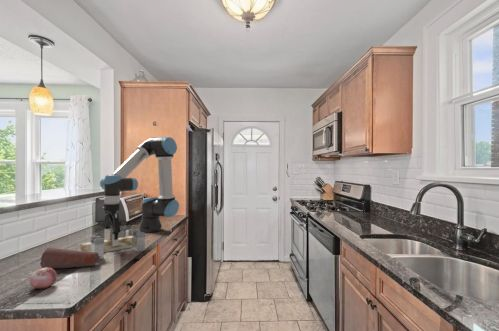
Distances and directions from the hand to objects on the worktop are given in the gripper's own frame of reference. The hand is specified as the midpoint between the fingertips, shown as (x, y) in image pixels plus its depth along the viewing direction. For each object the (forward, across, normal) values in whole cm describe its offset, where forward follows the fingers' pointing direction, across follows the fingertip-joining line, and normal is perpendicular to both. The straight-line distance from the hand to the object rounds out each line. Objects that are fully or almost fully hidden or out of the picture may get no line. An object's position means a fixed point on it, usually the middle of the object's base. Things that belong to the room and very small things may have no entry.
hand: (111, 243), depth 150 cm
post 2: (+3, +12, +10) cm, 16 cm away
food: (+3, +19, -22) cm, 30 cm away
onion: (+3, +36, -34) cm, 49 cm away
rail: (+2, 0, 0) cm, 2 cm away
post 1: (+3, +12, -10) cm, 16 cm away
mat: (+3, 0, 0) cm, 3 cm away
